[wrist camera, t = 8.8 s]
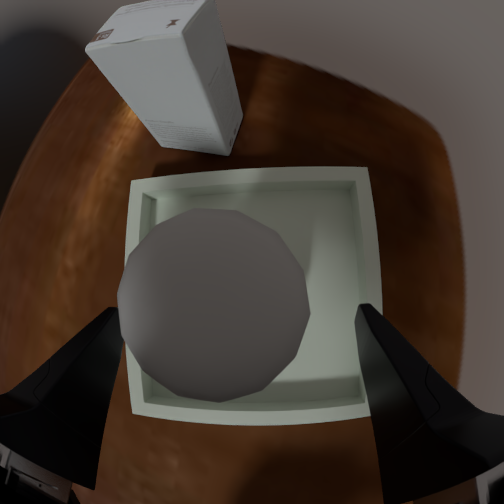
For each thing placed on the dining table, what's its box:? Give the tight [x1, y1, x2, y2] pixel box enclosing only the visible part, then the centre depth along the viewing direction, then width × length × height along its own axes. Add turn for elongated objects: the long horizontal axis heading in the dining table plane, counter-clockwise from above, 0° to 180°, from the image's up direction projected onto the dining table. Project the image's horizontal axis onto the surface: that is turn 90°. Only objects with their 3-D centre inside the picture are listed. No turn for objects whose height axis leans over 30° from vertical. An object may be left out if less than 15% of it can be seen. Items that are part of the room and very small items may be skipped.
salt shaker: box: [117, 208, 311, 403], centre depth 11 cm, size 6×6×13 cm
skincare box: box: [85, 0, 243, 156], centre depth 15 cm, size 6×4×12 cm
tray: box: [125, 166, 383, 425], centre depth 17 cm, size 16×16×2 cm
